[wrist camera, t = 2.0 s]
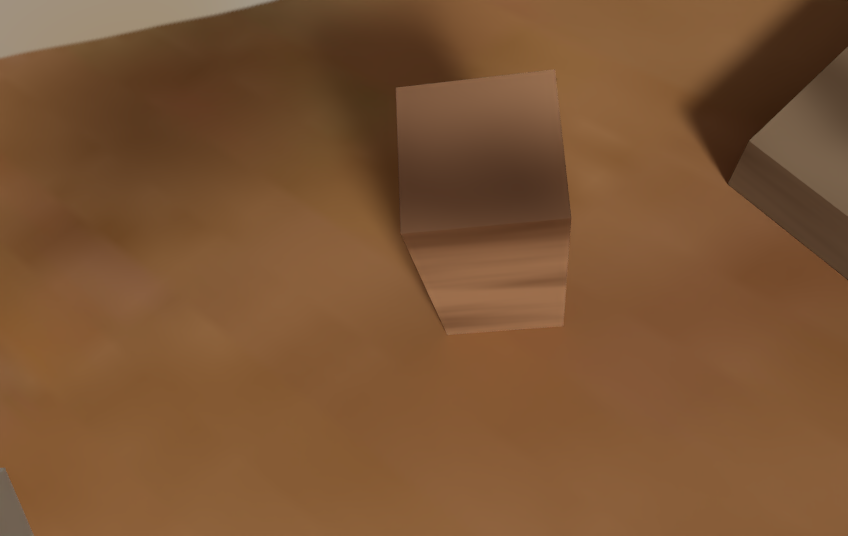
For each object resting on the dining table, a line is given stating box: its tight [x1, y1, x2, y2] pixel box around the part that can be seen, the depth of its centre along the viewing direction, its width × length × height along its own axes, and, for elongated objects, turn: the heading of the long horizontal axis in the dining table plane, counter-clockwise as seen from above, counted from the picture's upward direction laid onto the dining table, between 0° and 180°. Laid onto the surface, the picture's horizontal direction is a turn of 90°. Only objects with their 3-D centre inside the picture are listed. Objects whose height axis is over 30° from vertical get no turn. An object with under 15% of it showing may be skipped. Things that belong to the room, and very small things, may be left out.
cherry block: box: [396, 69, 571, 335], centre depth 30 cm, size 5×5×12 cm
